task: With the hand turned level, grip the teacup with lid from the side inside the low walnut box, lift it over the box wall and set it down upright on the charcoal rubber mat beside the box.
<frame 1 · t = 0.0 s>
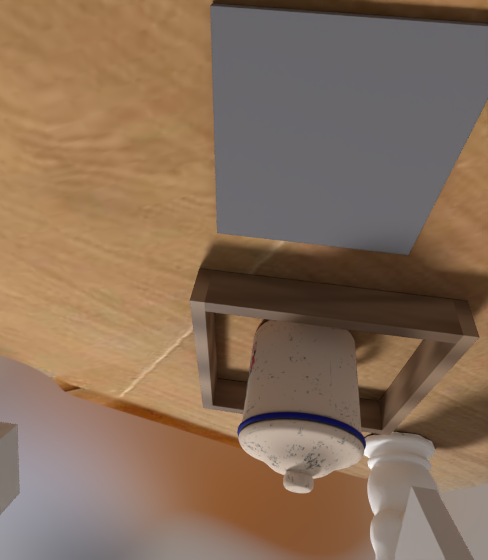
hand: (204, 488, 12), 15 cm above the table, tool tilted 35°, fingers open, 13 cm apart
cherub figurine: (380, 440, 47), on the table
teacup with lid: (309, 348, 34), resting in walnut box
charcoal mat: (330, 153, 19), on the table
walnut box: (309, 350, 33), on the table
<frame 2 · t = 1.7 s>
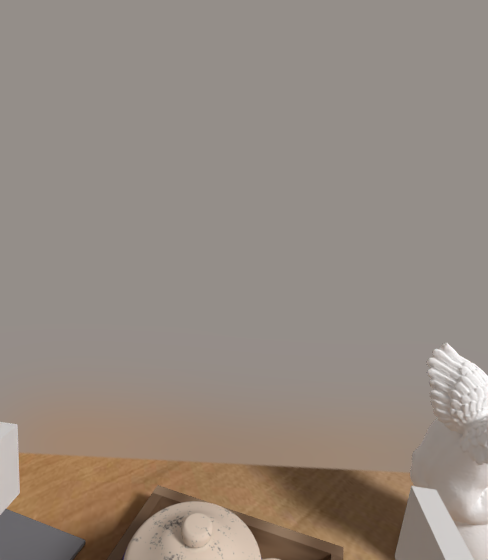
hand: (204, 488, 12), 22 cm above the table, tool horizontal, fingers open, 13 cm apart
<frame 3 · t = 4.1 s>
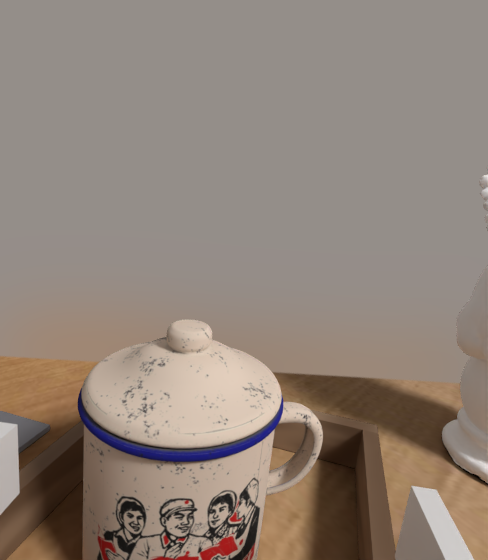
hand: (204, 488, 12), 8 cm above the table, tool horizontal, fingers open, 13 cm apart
teacup with lid: (201, 538, 20), resting in walnut box
walnut box: (202, 534, 20), on the table
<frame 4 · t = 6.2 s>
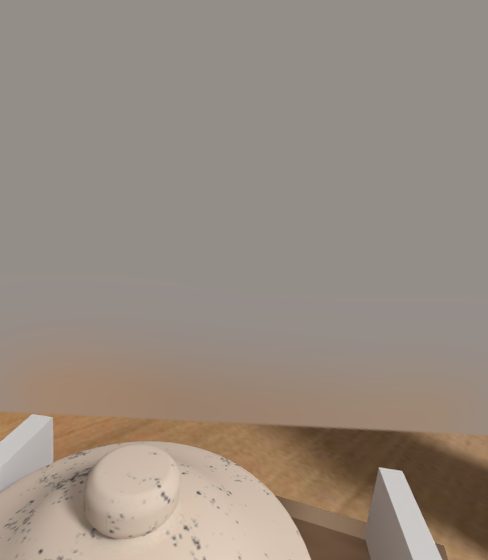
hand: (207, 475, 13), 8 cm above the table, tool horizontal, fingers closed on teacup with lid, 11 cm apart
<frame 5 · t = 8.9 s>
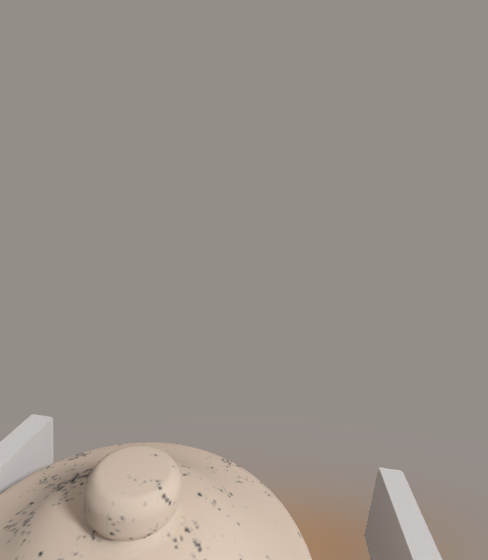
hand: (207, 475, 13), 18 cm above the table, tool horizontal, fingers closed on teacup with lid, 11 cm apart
when the fingers open (10 cm above the table, at t = 11.8 s): teacup with lid drops 1 cm, resting on charcoal mat.
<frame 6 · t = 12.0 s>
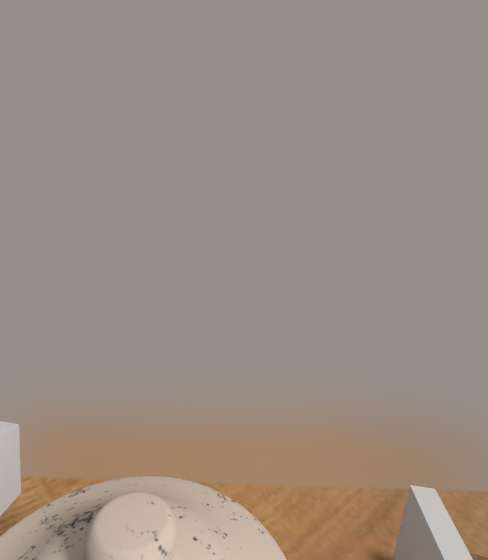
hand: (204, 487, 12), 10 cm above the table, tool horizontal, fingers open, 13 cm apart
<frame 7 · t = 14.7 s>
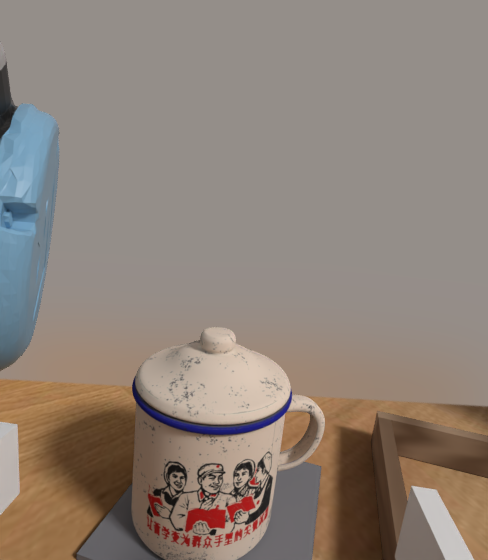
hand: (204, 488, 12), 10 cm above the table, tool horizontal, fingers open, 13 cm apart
teacup with lid: (224, 505, 24), resting on charcoal mat
charcoal mat: (220, 507, 24), on the table
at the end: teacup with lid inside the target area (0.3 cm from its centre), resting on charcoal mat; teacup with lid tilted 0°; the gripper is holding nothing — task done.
